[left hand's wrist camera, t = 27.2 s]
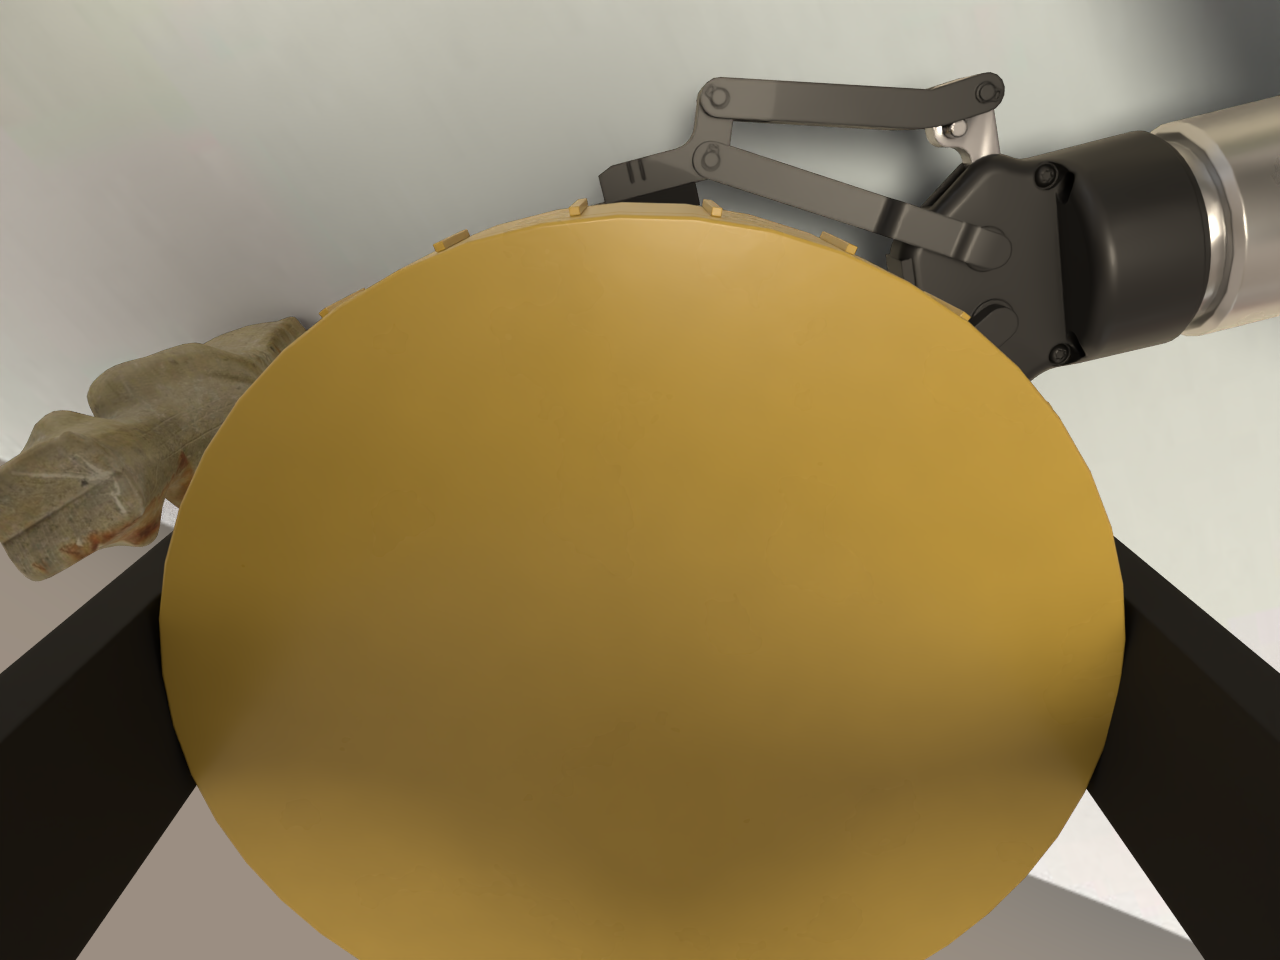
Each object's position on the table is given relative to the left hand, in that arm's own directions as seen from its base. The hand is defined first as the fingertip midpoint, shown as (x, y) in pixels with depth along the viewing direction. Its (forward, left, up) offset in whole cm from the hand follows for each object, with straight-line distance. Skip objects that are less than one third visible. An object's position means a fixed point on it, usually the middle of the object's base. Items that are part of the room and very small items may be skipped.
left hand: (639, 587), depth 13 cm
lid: (0, 0, +3) cm, 3 cm away
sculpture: (-14, -10, -26) cm, 31 cm away
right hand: (-2, -3, -20) cm, 20 cm away
